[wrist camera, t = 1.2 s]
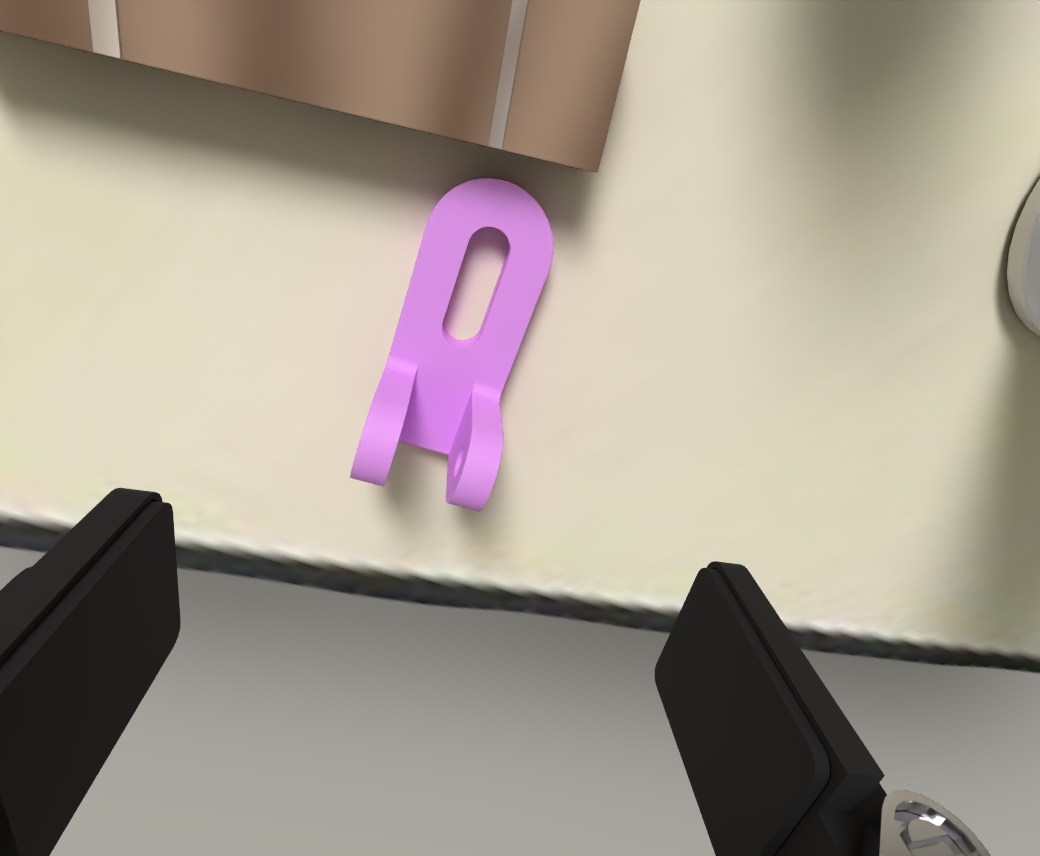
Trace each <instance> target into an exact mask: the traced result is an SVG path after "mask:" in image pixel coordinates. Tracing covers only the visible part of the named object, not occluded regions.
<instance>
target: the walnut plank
mask: <svg viewBox="0 0 1040 856" xmlns="http://www.w3.org/2000/svg"><path fill="white" fill-rule="evenodd" d="M639 4H640V0H0V31H2V32H7V33H11V34H15V35H19V36H23V37H27V38H32V39H36V40H40V41H44V42H48V43H53V44H57V45H61V46H65V47H69V48H74V49H78V50H82V51H86V52H90V53H95V54H99V55H103V56H107V57H111V58H116V59H120V60H124V61H128V62H132V63H137V64H141V65H145V66H149V67H153V68H158V69H162V70H166V71H170V72H174V73H179V74H183V75H187V76H191V77H195V78H199V79H204V80H208V81H212V82H216V83H220V84H225V85H229V86H233V87H237V88H241V89H246V90H250V91H254V92H258V93H262V94H267V95H271V96H275V97H279V98H283V99H288V100H292V101H296V102H300V103H304V104H309V105H313V106H317V107H321V108H325V109H330V110H334V111H338V112H342V113H346V114H351V115H355V116H359V117H363V118H367V119H372V120H376V121H380V122H384V123H388V124H392V125H397V126H401V127H405V128H409V129H413V130H418V131H422V132H426V133H430V134H434V135H439V136H443V137H447V138H451V139H455V140H460V141H464V142H468V143H472V144H476V145H481V146H485V147H489V148H493V149H497V150H502V151H506V152H510V153H514V154H518V155H523V156H527V157H531V158H535V159H539V160H544V161H548V162H552V163H556V164H560V165H564V166H569V167H573V168H577V169H581V170H586V171H592V172H598V169H599V165H600V161H601V157H602V153H603V149H604V145H605V141H606V137H607V133H608V129H609V125H610V121H611V117H612V113H613V109H614V105H615V101H616V97H617V93H618V88H619V84H620V80H621V76H622V72H623V68H624V64H625V60H626V56H627V52H628V48H629V44H630V40H631V36H632V32H633V28H634V24H635V20H636V16H637V12H638V8H639Z"/></svg>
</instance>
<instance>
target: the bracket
mask: <svg viewBox="0 0 1040 856" xmlns="http://www.w3.org/2000/svg"><path fill="white" fill-rule="evenodd" d="M483 227H495V228H497V229H499V230H501V231H502V232H503V233H504V234H505V235H506V236H507V238H508V242H509V248H508V252H507V255H506V258H505V261H504V263H503V266H502V269H501V272H500V275H499V278H498V280H497V283H496V286H495V289H494V292H493V295H492V297H491V300H490V303H489V306H488V309H487V312H486V314H485V317H484V320H483V323H482V326H481V328H480V330H479V332H478V333H477V334H476V335H475V336H474V337H472V338H470V339H467V340H459V339H456V338H453V337H452V336H450V335H449V334H448V333H447V331H446V330H445V328H444V325H443V319H444V316H445V313H446V310H447V307H448V304H449V301H450V298H451V295H452V291H453V288H454V285H455V282H456V279H457V276H458V273H459V270H460V267H461V264H462V260H463V257H464V254H465V251H466V248H467V245H468V242H469V239H470V237H471V236H472V234H473V233H474V232H475V231H477V230H478V229H480V228H483ZM552 257H553V236H552V231H551V227H550V224H549V221H548V219H547V217H546V215H545V213H544V211H543V209H542V208H541V207H540V205H539V204H538V203H537V201H536V200H535V199H534V198H533V197H532V196H531V195H530V194H529V193H527V192H526V191H525V190H523V189H522V188H520V187H519V186H517V185H515V184H514V183H511V182H509V181H507V180H503V179H500V178H493V177H480V178H474V179H470V180H467V181H464V182H462V183H460V184H458V185H456V186H455V187H453V188H452V189H450V190H449V191H448V192H447V193H446V194H445V195H444V196H443V197H442V198H441V199H440V200H439V202H438V203H437V204H436V206H435V208H434V209H433V211H432V213H431V215H430V217H429V219H428V222H427V225H426V228H425V232H424V235H423V239H422V242H421V246H420V249H419V253H418V256H417V260H416V263H415V267H414V270H413V274H412V277H411V281H410V284H409V288H408V291H407V295H406V298H405V302H404V305H403V308H402V312H401V315H400V319H399V322H398V326H397V329H396V333H395V336H394V340H393V343H392V347H391V350H390V354H389V357H388V360H387V364H386V367H385V370H384V372H383V375H382V377H381V380H380V383H379V385H378V388H377V391H376V393H375V396H374V398H373V401H372V404H371V407H370V410H369V413H368V416H367V419H366V423H365V426H364V429H363V432H362V436H361V439H360V442H359V446H358V449H357V452H356V456H355V459H354V463H353V467H352V471H351V475H350V478H353V479H357V480H361V481H364V482H368V483H372V484H376V485H380V486H384V484H385V482H386V479H387V476H388V473H389V470H390V466H391V463H392V460H393V457H394V454H395V450H396V447H397V444H398V441H402V442H405V443H409V444H412V445H416V446H419V447H423V448H427V449H430V450H434V451H437V452H441V453H444V454H448V455H449V457H448V473H447V489H446V502H447V503H449V504H453V505H457V506H461V507H465V508H469V509H473V510H477V511H480V510H481V509H482V508H483V507H484V505H485V503H486V502H487V500H488V498H489V495H490V493H491V491H492V488H493V485H494V482H495V479H496V476H497V473H498V469H499V465H500V460H501V456H502V450H503V428H502V420H501V412H500V404H499V403H500V397H501V393H502V390H503V388H504V385H505V383H506V380H507V377H508V375H509V372H510V370H511V367H512V365H513V362H514V359H515V357H516V354H517V352H518V349H519V347H520V344H521V341H522V339H523V336H524V334H525V331H526V329H527V326H528V323H529V321H530V318H531V316H532V313H533V311H534V308H535V305H536V303H537V300H538V298H539V295H540V293H541V290H542V287H543V285H544V282H545V280H546V277H547V275H548V272H549V269H550V266H551V262H552Z"/></svg>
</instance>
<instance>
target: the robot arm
mask: <svg viewBox="0 0 1040 856" xmlns="http://www.w3.org/2000/svg"><path fill="white" fill-rule="evenodd" d="M1007 281H1008V290H1009V296H1010V299H1011V302H1012V304H1013V307H1014V310H1015V312H1016V314H1017V315H1018V317H1019V318H1020V319H1021V321H1022V322H1023V323H1024V325H1025V326H1026V327H1027V328H1028V329H1030V330H1031V331H1032V332H1034V333H1035V334H1037V335H1038V336H1039V337H1040V179H1039V181H1038V182H1037V184H1036V186H1035V187H1034V189H1033V191H1032V192H1031V194H1030V195H1029V197H1028V199H1027V202H1026V204H1025V206H1024V208H1023V211H1022V213H1021V215H1020V217H1019V220H1018V222H1017V224H1016V228H1015V231H1014V235H1013V238H1012V242H1011V246H1010V249H1009V257H1008V267H1007ZM177 580H178V579H177V565H176V550H175V536H174V521H173V510H172V506H171V504H169V503H165V502H162V498H161V496H160V494H159V493H156V492H149V491H141V490H133V489H125V488H117V489H114V490H113V491H111V492H110V493H109V494H108V495H107V496H106V497H105V498H104V499H103V500H102V501H101V502H100V503H99V504H97V505H96V506H95V507H94V508H93V509H92V510H91V511H90V512H89V513H88V514H87V515H86V516H85V517H84V518H83V519H82V520H81V521H80V522H79V523H78V524H77V525H75V526H74V527H73V528H72V529H71V530H70V531H69V532H68V533H67V534H66V535H65V536H64V537H63V538H62V539H61V540H60V541H59V542H58V543H57V544H56V545H54V546H53V547H52V548H51V549H50V550H49V551H48V552H47V553H46V554H45V555H44V556H43V557H42V558H41V559H40V560H39V561H38V562H37V563H36V564H35V565H34V566H32V567H29V568H26V569H25V570H23V571H22V572H21V573H19V574H18V575H17V576H16V577H14V578H13V579H12V580H11V581H10V582H9V583H8V584H7V585H6V586H5V587H4V588H3V589H2V590H1V591H0V856H49V855H50V854H51V852H52V850H53V849H54V847H55V845H56V843H57V842H58V840H59V838H60V836H61V835H62V833H63V832H64V830H65V828H66V827H67V825H68V823H69V822H70V820H71V818H72V817H73V815H74V813H75V812H76V810H77V808H78V806H79V805H80V803H81V801H82V800H83V798H84V796H85V795H86V793H87V791H88V790H89V788H90V786H91V785H92V783H93V781H94V780H95V778H96V776H97V775H98V773H99V771H100V769H101V768H102V766H103V764H104V763H105V761H106V759H107V758H108V756H109V754H110V753H111V751H112V749H113V748H114V746H115V744H116V743H117V741H118V739H119V737H120V736H121V734H122V733H123V731H124V729H125V727H126V726H127V724H128V722H129V721H130V719H131V717H132V716H133V714H134V712H135V711H136V709H137V707H138V706H139V704H140V702H141V701H142V699H143V697H144V696H145V694H146V692H147V691H148V689H149V687H150V686H151V684H152V682H153V680H154V679H155V677H156V675H157V674H158V672H159V670H160V669H161V667H162V665H163V663H164V662H165V660H166V658H167V657H168V655H169V654H170V652H171V650H172V649H173V647H174V645H175V643H176V640H177V638H178V634H179V631H180V608H179V594H178V581H177ZM655 682H656V686H657V689H658V692H659V695H660V697H661V700H662V703H663V706H664V709H665V712H666V715H667V718H668V720H669V723H670V726H671V729H672V732H673V735H674V737H675V740H676V743H677V746H678V749H679V752H680V755H681V757H682V760H683V763H684V766H685V769H686V772H687V775H688V778H689V780H690V783H691V786H692V789H693V792H694V795H695V798H696V800H697V803H698V806H699V809H700V812H701V814H702V818H703V820H704V823H705V826H706V829H707V832H708V835H709V838H710V840H711V843H712V846H713V849H714V852H715V855H716V856H990V854H989V852H988V850H987V849H986V848H985V847H984V845H983V844H982V843H981V842H980V840H979V839H978V838H977V837H976V835H975V834H974V833H973V832H972V831H971V830H970V829H969V828H968V827H967V826H966V825H965V824H964V823H963V822H962V821H961V820H960V819H959V818H957V817H956V816H955V815H954V814H952V813H951V812H950V811H948V810H947V809H946V808H944V807H943V806H941V805H940V804H939V803H937V802H935V801H933V800H931V799H929V798H927V797H925V796H923V795H921V794H918V793H914V792H911V791H907V790H900V791H899V790H898V791H893V792H891V793H890V794H888V795H887V794H886V793H885V791H884V790H883V788H882V787H881V785H880V783H879V782H880V781H881V780H882V778H883V777H884V774H883V772H882V771H881V769H880V768H879V766H878V765H877V764H876V762H875V760H874V759H873V757H872V756H871V754H870V753H869V751H868V750H867V748H866V747H865V745H864V744H863V742H862V741H861V739H860V738H859V736H858V735H857V733H856V732H855V731H854V729H853V727H852V726H851V724H850V723H849V721H848V720H847V718H846V717H845V715H844V714H843V712H842V711H841V709H840V708H839V706H838V705H837V703H836V702H835V700H834V699H833V697H832V696H831V694H830V693H829V691H828V690H827V688H826V687H825V685H824V684H823V682H822V681H821V679H820V678H819V676H818V675H817V673H816V672H815V670H814V669H813V667H812V666H811V664H810V663H809V661H808V660H807V658H806V657H805V655H804V654H803V652H802V651H801V649H800V648H799V646H798V644H797V643H796V641H795V640H794V638H793V637H792V635H791V634H790V632H789V631H788V629H787V628H786V626H785V625H784V623H783V622H782V620H781V619H780V617H779V616H778V614H777V613H776V611H775V610H774V608H773V607H772V605H771V604H770V602H769V601H768V599H767V598H766V596H765V595H764V593H763V592H762V590H761V589H760V587H759V586H758V584H757V583H756V581H755V580H754V578H753V577H752V575H751V574H750V572H749V571H748V570H747V568H746V567H745V566H743V565H740V564H732V563H724V562H716V561H715V562H711V563H710V564H709V565H708V566H707V568H702V569H701V570H700V571H699V572H698V574H697V576H696V578H695V581H694V583H693V585H692V587H691V589H690V591H689V594H688V596H687V598H686V600H685V602H684V605H683V607H682V609H681V611H680V613H679V616H678V618H677V620H676V622H675V624H674V627H673V629H672V631H671V633H670V635H669V638H668V640H667V642H666V644H665V646H664V648H663V651H662V653H661V655H660V657H659V660H658V662H657V664H656V667H655Z"/></svg>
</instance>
